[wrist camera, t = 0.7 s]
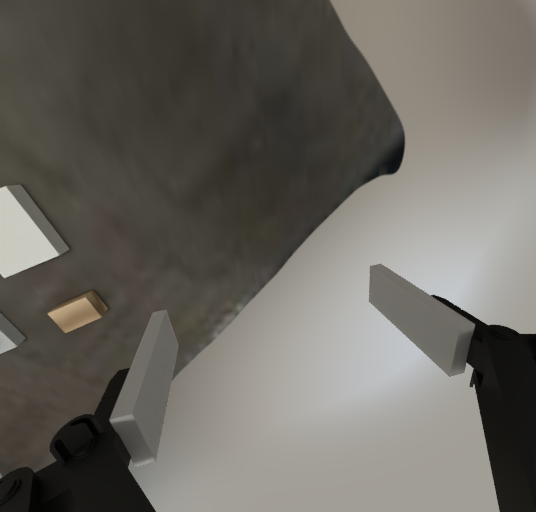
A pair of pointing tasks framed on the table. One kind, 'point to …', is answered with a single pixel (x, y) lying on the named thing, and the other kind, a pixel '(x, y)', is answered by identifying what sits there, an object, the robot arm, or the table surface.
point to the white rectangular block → (24, 233)
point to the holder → (8, 335)
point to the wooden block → (78, 311)
